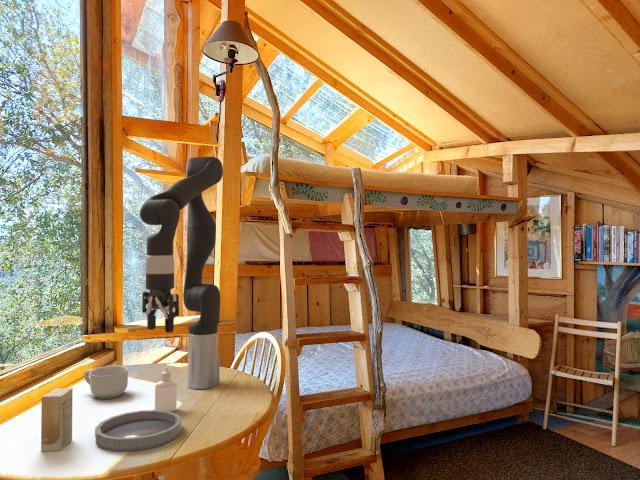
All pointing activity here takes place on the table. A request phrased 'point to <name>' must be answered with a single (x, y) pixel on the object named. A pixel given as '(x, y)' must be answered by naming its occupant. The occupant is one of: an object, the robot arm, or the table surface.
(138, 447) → the round tray
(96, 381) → the teacup
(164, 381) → the eye dropper bottle
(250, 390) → the table surface
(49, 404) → the skincare box
